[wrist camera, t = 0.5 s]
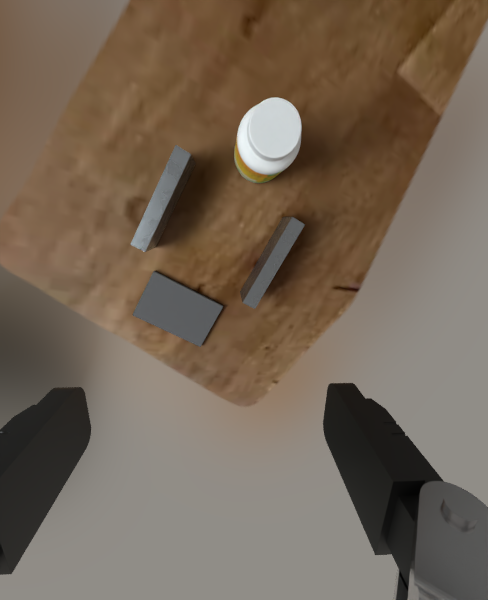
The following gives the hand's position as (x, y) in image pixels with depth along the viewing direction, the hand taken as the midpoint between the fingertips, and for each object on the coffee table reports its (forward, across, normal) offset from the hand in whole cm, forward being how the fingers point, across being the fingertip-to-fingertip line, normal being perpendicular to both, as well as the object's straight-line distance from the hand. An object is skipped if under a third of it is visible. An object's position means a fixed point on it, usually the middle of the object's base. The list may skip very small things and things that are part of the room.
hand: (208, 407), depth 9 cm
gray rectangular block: (+24, +5, +5) cm, 26 cm away
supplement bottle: (+25, -4, -12) cm, 28 cm away
